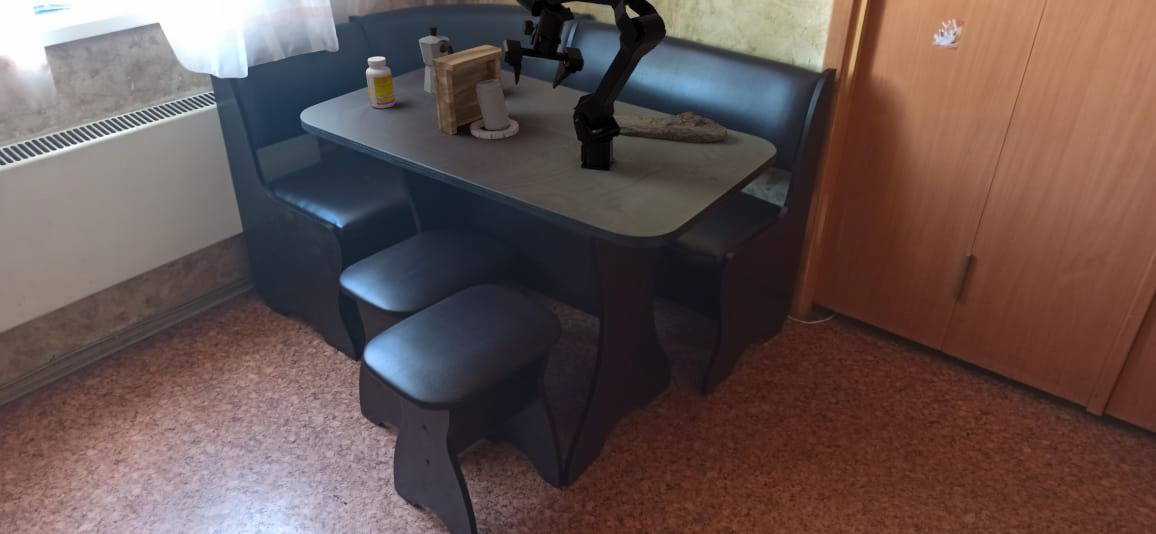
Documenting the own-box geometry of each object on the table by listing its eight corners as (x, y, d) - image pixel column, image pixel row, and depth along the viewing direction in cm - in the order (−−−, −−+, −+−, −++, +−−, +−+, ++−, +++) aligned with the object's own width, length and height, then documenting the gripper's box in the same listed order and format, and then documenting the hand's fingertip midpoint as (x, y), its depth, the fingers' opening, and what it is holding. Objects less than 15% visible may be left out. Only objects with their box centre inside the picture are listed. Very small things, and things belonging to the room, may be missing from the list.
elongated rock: (596, 125, 205) (584, 140, 197) (594, 105, 202) (583, 120, 194) (730, 131, 195) (723, 148, 187) (730, 111, 192) (724, 127, 184)
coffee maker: (414, 88, 228) (406, 25, 219) (439, 81, 233) (433, 20, 224) (443, 100, 218) (436, 34, 209) (468, 93, 224) (463, 29, 214)
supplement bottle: (400, 103, 216) (394, 57, 209) (383, 110, 211) (376, 63, 205) (382, 99, 219) (376, 54, 212) (365, 106, 214) (358, 59, 208)
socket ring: (524, 124, 201) (524, 119, 200) (508, 140, 191) (508, 136, 191) (481, 120, 204) (481, 115, 203) (463, 136, 194) (462, 131, 193)
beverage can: (499, 132, 193) (488, 84, 188) (480, 132, 196) (469, 85, 192) (515, 124, 197) (504, 77, 192) (496, 124, 201) (485, 78, 196)
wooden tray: (509, 117, 205) (506, 49, 196) (458, 136, 194) (452, 65, 185) (490, 111, 210) (486, 44, 200) (439, 130, 198) (432, 59, 189)
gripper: (582, 13, 182) (566, 69, 193) (504, 3, 176) (492, 61, 187) (592, 41, 175) (574, 97, 186) (511, 30, 169) (498, 89, 180)
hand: (535, 85), depth 185 cm, fingers open, 9 cm apart
